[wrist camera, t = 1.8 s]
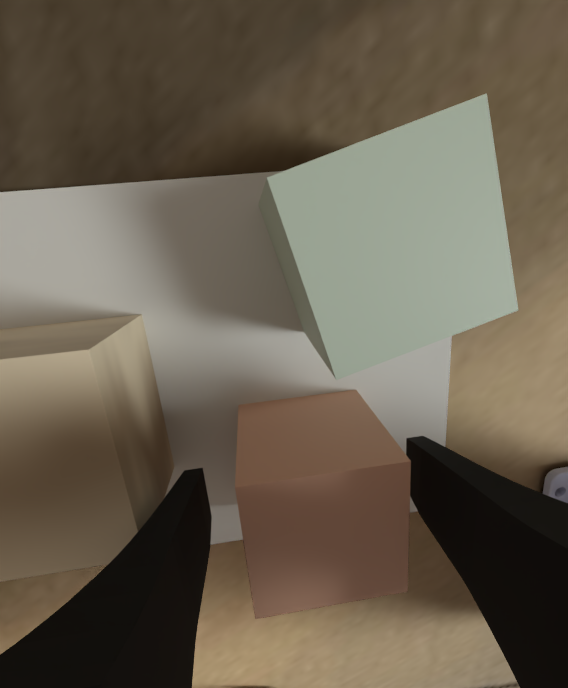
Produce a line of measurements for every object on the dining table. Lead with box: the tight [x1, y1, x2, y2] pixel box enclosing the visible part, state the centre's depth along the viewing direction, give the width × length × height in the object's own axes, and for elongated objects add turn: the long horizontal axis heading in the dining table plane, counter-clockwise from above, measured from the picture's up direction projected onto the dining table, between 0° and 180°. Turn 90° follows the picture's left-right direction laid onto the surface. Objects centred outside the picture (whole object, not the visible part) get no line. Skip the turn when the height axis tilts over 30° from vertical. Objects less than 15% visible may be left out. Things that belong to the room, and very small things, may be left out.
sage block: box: [258, 94, 518, 380], centre depth 9 cm, size 4×4×4 cm
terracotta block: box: [235, 390, 411, 619], centre depth 11 cm, size 4×4×4 cm
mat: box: [0, 171, 452, 545], centre depth 12 cm, size 14×20×1 cm
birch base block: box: [0, 314, 174, 582], centre depth 10 cm, size 6×6×4 cm
